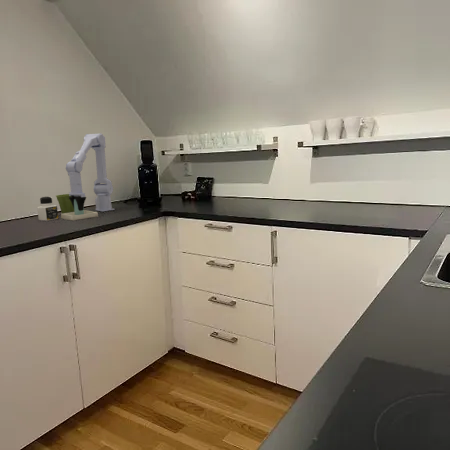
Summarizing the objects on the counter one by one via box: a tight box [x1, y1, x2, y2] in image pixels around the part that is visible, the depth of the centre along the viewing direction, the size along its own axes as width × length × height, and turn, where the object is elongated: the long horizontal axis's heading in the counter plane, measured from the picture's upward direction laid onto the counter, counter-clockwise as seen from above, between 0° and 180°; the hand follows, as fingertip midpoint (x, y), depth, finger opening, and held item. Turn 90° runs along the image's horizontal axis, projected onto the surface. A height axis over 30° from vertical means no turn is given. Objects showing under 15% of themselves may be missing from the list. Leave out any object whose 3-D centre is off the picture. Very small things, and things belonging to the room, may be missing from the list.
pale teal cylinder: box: [74, 199, 85, 215], centre depth 236 cm, size 5×5×8 cm
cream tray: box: [60, 209, 99, 222], centre depth 236 cm, size 14×14×2 cm
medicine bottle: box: [36, 196, 59, 222], centre depth 235 cm, size 7×7×12 cm
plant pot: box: [55, 193, 74, 214], centre depth 249 cm, size 12×12×11 cm
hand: (78, 210), depth 236 cm, fingers closed on pale teal cylinder, 5 cm apart
